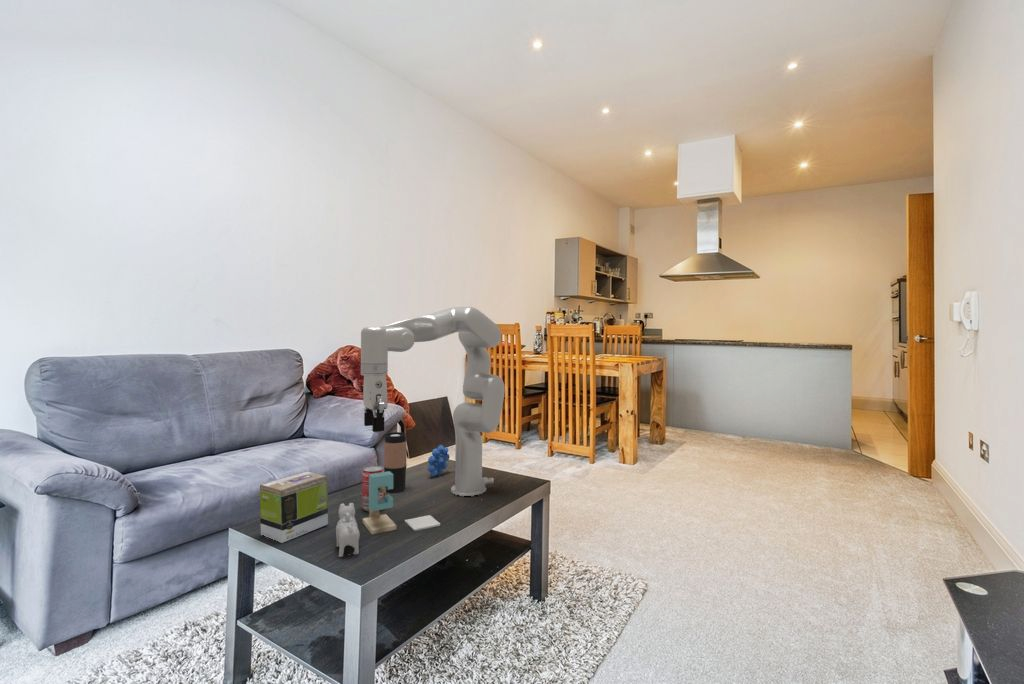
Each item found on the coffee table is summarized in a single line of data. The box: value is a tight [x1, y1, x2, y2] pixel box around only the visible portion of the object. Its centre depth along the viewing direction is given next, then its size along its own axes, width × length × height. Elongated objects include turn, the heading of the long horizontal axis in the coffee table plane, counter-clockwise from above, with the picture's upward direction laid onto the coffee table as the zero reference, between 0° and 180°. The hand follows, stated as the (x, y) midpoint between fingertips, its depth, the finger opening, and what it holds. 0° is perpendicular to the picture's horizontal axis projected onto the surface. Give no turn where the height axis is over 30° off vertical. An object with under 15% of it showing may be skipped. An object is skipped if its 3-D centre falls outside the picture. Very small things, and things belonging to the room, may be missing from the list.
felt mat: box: [404, 514, 441, 532], centre depth 144 cm, size 8×8×1 cm
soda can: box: [361, 465, 386, 513], centre depth 155 cm, size 7×7×13 cm
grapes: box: [427, 444, 450, 477], centre depth 192 cm, size 12×7×12 cm, turn 145°
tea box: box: [259, 470, 329, 544], centre depth 137 cm, size 15×10×15 cm
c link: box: [369, 471, 394, 511], centre depth 140 cm, size 6×4×10 cm, turn 122°
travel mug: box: [383, 431, 407, 494], centre depth 174 cm, size 8×8×20 cm
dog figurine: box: [335, 502, 361, 558], centre depth 127 cm, size 5×13×11 cm, turn 26°
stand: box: [362, 487, 397, 535], centre depth 141 cm, size 7×11×12 cm, turn 32°
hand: (374, 428), depth 141 cm, fingers open, 9 cm apart
